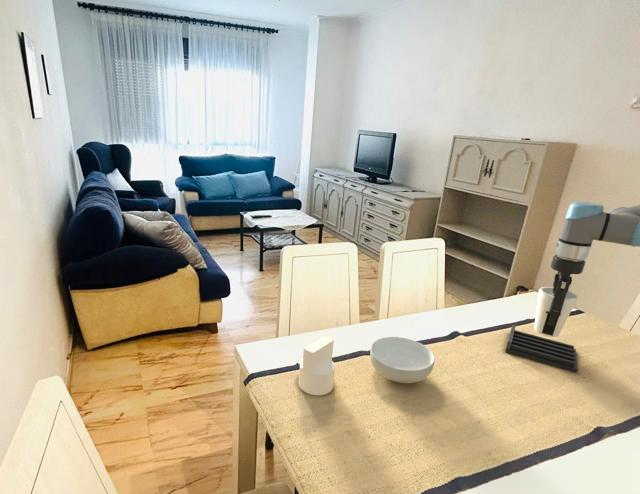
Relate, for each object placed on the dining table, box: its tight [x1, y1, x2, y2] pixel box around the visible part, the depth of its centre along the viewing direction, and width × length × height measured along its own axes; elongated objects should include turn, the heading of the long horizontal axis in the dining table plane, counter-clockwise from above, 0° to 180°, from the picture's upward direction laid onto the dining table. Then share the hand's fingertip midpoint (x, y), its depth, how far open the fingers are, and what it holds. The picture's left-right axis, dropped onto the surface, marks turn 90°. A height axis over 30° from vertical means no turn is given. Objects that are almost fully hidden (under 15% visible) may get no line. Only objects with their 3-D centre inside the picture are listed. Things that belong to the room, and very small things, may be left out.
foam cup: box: [533, 286, 579, 338], centre depth 115 cm, size 10×9×13 cm
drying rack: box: [504, 324, 578, 374], centre depth 119 cm, size 18×14×4 cm
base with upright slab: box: [298, 335, 336, 396], centre depth 98 cm, size 9×9×12 cm
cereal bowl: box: [369, 336, 436, 384], centre depth 105 cm, size 17×17×7 cm
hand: (547, 327), depth 117 cm, fingers closed on foam cup, 9 cm apart
